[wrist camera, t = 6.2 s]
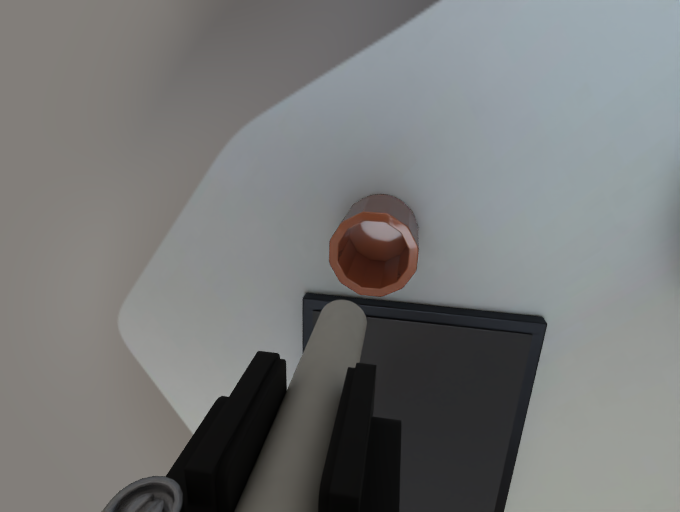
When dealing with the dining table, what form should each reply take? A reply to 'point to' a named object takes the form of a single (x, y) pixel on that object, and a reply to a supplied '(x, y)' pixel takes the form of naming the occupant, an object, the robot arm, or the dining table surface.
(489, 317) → the tablet
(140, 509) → the robot arm
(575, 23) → the dining table surface
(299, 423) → the stylus
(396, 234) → the pen cup
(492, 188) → the dining table surface
